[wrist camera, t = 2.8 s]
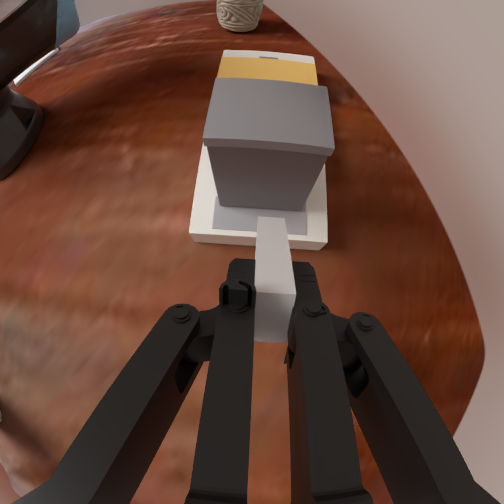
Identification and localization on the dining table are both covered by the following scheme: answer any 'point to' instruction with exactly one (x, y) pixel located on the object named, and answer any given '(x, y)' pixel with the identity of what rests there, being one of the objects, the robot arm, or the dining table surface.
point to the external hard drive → (33, 67)
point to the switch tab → (267, 141)
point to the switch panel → (246, 219)
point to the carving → (239, 14)
